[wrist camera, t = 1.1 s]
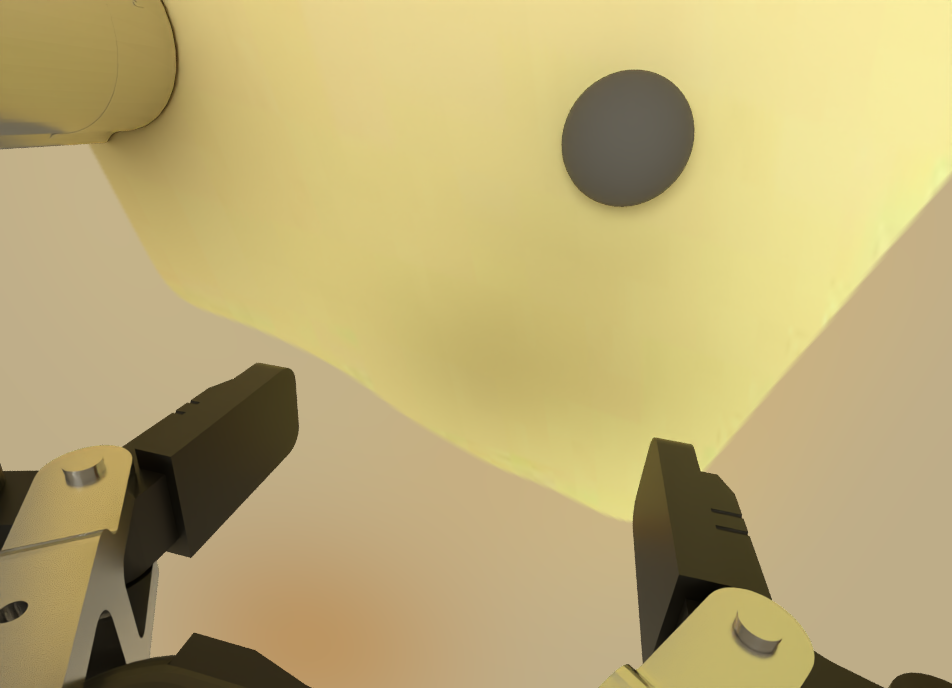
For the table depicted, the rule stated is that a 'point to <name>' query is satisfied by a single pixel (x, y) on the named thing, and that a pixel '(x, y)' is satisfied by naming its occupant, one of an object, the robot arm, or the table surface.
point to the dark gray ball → (627, 138)
